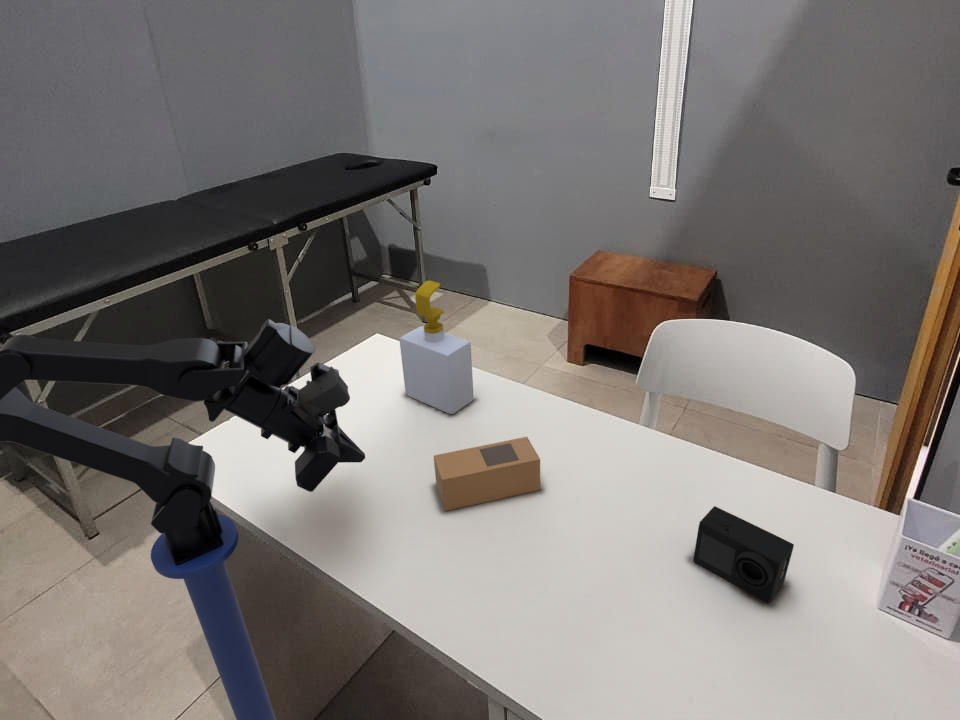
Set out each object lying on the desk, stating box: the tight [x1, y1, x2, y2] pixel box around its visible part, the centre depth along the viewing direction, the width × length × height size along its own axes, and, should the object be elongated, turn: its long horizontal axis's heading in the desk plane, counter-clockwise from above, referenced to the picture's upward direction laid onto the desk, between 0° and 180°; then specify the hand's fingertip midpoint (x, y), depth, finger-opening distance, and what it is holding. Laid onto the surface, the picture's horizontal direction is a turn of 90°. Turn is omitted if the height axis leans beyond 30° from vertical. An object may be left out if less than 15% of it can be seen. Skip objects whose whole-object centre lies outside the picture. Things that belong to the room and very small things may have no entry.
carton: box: [433, 436, 541, 512], centre depth 99 cm, size 6×6×15 cm
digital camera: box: [692, 505, 795, 604], centre depth 82 cm, size 10×5×7 cm, turn 46°
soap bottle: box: [399, 279, 474, 415], centre depth 118 cm, size 12×7×23 cm, turn 51°
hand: (363, 458), depth 91 cm, fingers closed
